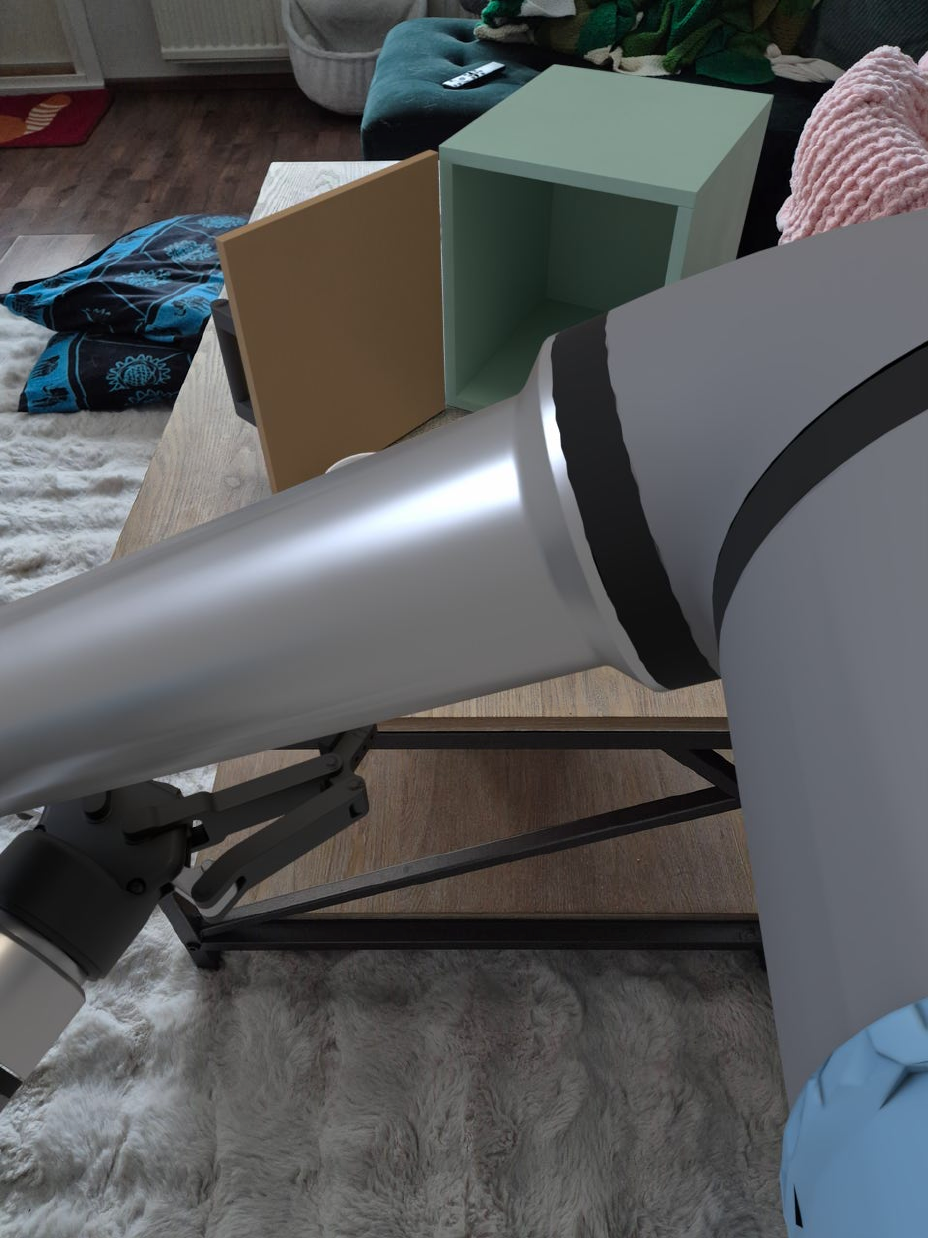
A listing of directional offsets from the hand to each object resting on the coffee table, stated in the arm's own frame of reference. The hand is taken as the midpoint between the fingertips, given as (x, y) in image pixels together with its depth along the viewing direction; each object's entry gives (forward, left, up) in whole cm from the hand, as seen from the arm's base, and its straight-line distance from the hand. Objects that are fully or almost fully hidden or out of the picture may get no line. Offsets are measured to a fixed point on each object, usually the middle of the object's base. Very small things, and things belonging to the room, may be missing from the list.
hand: (291, 634), depth 52 cm
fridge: (+45, -26, -10) cm, 53 cm away
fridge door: (+33, -1, -10) cm, 35 cm away
